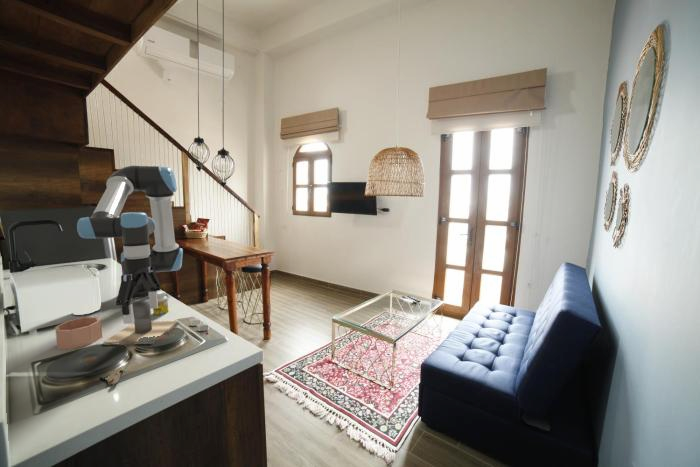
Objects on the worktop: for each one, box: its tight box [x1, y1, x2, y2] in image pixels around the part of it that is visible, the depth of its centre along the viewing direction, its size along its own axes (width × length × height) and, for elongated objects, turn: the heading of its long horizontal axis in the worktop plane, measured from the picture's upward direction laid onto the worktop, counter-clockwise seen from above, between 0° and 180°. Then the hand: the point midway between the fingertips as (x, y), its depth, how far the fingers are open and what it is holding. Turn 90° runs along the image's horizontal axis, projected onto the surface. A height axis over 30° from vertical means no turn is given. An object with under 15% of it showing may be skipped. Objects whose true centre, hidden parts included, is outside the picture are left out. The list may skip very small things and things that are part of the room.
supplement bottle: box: [152, 290, 169, 316], centre depth 125 cm, size 5×5×10 cm
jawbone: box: [104, 364, 126, 386], centre depth 88 cm, size 9×20×2 cm, turn 168°
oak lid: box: [102, 298, 179, 344], centre depth 106 cm, size 16×16×12 cm
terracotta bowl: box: [54, 316, 103, 350], centre depth 101 cm, size 11×11×7 cm
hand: (142, 315), depth 106 cm, fingers open, 13 cm apart
